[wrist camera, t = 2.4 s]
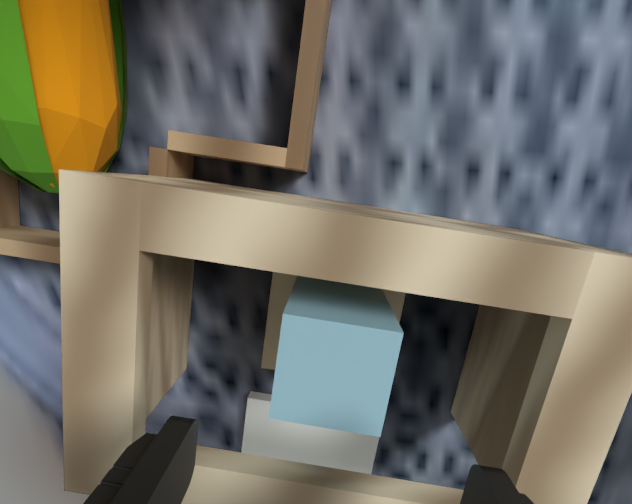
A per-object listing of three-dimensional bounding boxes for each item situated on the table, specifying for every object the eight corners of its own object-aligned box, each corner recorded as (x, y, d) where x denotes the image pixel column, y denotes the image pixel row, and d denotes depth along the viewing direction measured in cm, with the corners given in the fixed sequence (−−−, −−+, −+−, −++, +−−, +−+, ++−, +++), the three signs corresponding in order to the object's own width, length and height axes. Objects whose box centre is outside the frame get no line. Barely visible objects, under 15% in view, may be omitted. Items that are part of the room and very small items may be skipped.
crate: (516, 228, 21) (682, 265, 11) (464, 413, 24) (558, 574, 14) (185, 177, 21) (58, 169, 11) (173, 366, 24) (63, 490, 14)
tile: (381, 412, 24) (383, 420, 23) (358, 518, 26) (358, 528, 25) (250, 390, 24) (247, 397, 23) (237, 498, 26) (234, 507, 25)
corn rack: (364, -230, 16) (373, -340, 13) (292, 282, 22) (285, 299, 19) (-157, -299, 17) (-281, -422, 13) (-96, 220, 23) (-172, 226, 19)
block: (381, 287, 19) (403, 333, 13) (365, 363, 20) (380, 437, 14) (298, 274, 19) (282, 313, 13) (287, 350, 20) (268, 418, 14)
